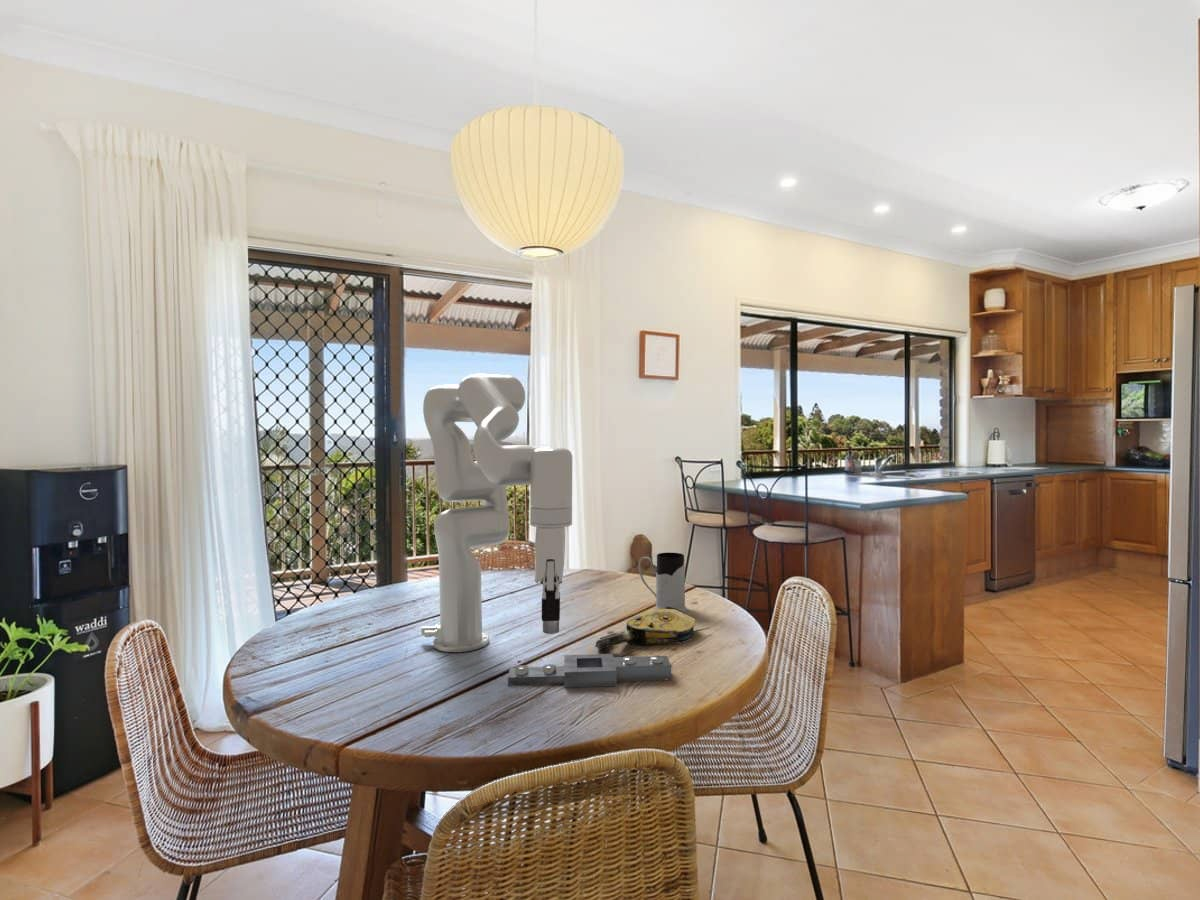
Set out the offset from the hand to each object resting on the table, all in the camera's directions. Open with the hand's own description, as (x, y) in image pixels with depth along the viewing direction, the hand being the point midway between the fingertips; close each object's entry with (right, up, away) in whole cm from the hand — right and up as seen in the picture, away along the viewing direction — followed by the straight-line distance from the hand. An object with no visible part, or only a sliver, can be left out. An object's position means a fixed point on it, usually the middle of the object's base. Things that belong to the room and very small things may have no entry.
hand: (550, 616), depth 111 cm
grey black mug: (+26, -14, +60) cm, 67 cm away
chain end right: (+12, -15, +12) cm, 23 cm away
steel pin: (0, -3, 0) cm, 3 cm away
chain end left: (+1, -15, +11) cm, 19 cm away
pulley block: (+20, -15, +34) cm, 42 cm away
